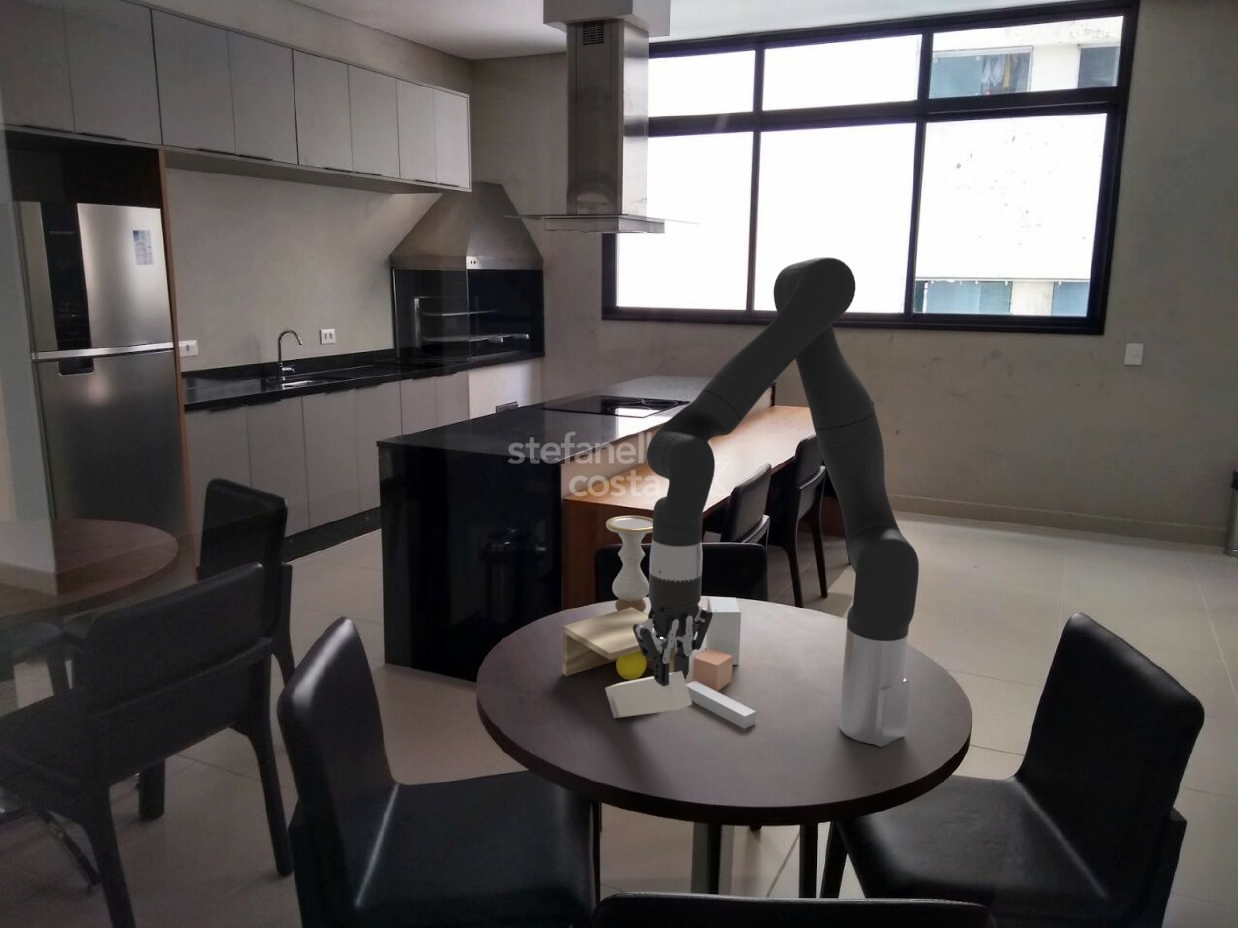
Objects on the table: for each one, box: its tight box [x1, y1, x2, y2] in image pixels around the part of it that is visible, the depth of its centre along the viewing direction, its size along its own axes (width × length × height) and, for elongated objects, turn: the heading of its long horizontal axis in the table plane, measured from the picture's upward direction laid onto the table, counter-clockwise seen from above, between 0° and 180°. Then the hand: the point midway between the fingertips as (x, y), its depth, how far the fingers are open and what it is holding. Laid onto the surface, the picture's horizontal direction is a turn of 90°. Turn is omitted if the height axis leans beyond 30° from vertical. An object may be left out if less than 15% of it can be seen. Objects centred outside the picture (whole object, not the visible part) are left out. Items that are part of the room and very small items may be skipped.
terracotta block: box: [692, 648, 733, 692], centre depth 156 cm, size 5×5×5 cm
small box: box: [705, 596, 742, 666], centre depth 167 cm, size 8×6×10 cm
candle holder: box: [605, 515, 653, 615], centre depth 173 cm, size 11×11×24 cm
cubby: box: [562, 607, 677, 677], centre depth 157 cm, size 14×16×9 cm
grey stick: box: [686, 680, 757, 730], centre depth 147 cm, size 14×3×2 cm, turn 40°
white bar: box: [604, 671, 693, 719], centre depth 138 cm, size 20×9×5 cm, turn 32°
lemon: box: [615, 651, 647, 681], centre depth 158 cm, size 7×5×5 cm
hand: (671, 680), depth 130 cm, fingers closed on white bar, 3 cm apart
